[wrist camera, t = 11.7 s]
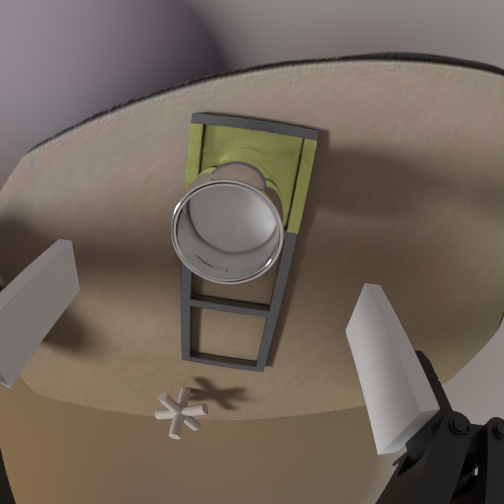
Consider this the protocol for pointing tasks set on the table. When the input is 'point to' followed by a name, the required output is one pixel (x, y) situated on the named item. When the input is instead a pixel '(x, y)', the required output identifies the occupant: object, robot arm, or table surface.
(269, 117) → the table surface
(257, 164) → the beer glass
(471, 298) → the table surface
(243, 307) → the grey flat frame
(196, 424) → the pipe connector
